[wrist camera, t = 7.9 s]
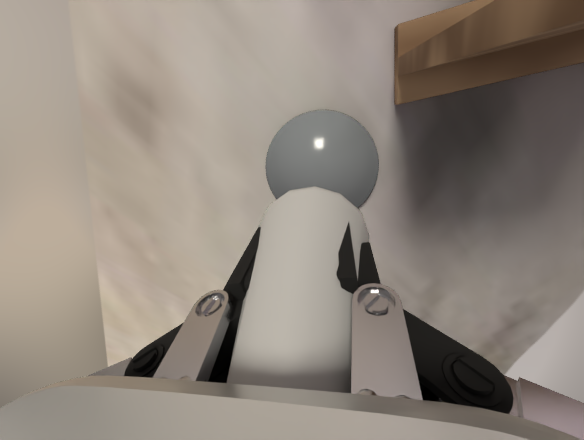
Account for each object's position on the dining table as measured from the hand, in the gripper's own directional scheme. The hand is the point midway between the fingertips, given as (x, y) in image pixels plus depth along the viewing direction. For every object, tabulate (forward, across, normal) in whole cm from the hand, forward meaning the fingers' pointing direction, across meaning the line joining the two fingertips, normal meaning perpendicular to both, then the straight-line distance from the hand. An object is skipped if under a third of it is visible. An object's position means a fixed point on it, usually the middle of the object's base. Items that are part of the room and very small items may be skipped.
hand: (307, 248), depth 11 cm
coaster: (+13, 0, 0) cm, 13 cm away
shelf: (+13, -14, -7) cm, 20 cm away
